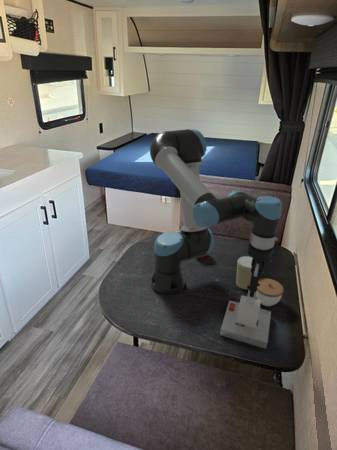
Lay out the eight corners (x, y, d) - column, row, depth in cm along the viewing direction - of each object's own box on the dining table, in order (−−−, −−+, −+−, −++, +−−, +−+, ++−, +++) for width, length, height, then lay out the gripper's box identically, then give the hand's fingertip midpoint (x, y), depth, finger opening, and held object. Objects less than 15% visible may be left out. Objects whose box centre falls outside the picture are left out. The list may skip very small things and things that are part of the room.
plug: (234, 328, 109) (238, 306, 104) (237, 317, 114) (241, 295, 110) (254, 334, 107) (259, 311, 102) (256, 322, 112) (261, 300, 107)
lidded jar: (259, 289, 130) (263, 271, 126) (283, 300, 124) (288, 282, 120) (248, 302, 122) (251, 283, 118) (273, 314, 116) (278, 295, 112)
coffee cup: (256, 292, 128) (260, 269, 123) (234, 289, 130) (237, 266, 124) (254, 279, 136) (259, 257, 131) (234, 276, 138) (237, 254, 132)
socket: (219, 334, 107) (221, 327, 105) (228, 306, 120) (229, 298, 118) (266, 349, 102) (268, 341, 100) (269, 317, 115) (271, 309, 113)
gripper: (272, 257, 88) (259, 317, 99) (275, 237, 99) (263, 293, 110) (246, 252, 90) (236, 310, 101) (252, 233, 101) (242, 288, 112)
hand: (250, 301), depth 105 cm, fingers closed
